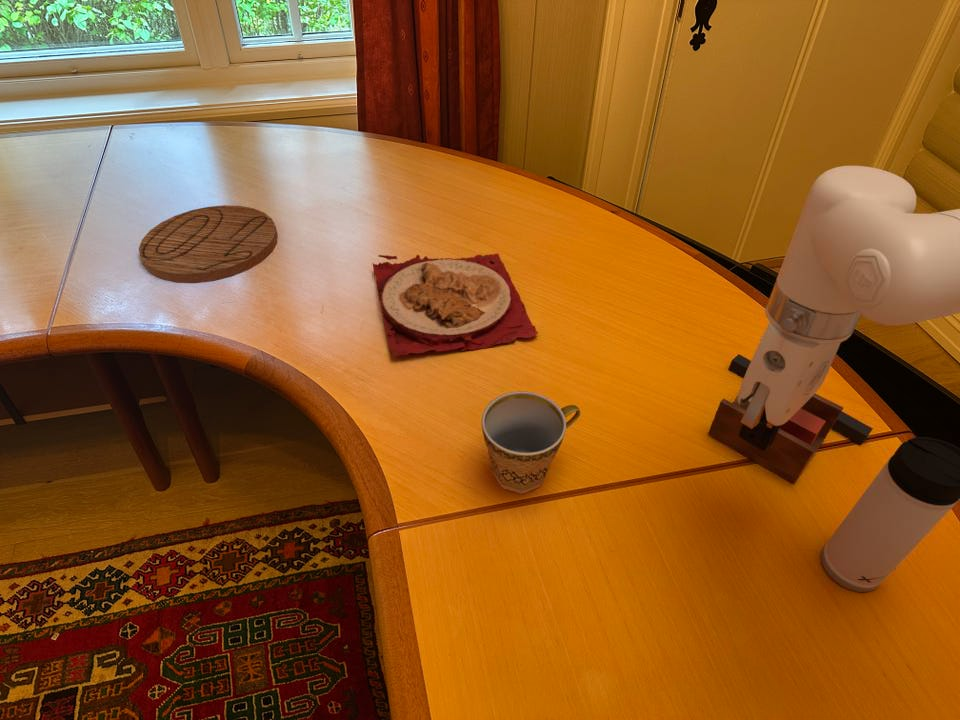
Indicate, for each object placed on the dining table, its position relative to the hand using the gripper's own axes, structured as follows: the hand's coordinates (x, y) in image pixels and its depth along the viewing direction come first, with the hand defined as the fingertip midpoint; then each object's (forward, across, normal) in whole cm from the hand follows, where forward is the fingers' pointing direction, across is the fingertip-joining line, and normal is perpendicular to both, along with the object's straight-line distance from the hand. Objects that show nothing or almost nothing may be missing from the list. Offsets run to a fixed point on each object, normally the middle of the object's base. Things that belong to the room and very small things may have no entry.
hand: (754, 440), depth 67 cm
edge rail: (+11, +22, +3) cm, 25 cm away
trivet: (+9, -23, +99) cm, 102 cm away
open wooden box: (+11, +13, +2) cm, 18 cm away
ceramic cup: (+11, -14, +20) cm, 27 cm away
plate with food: (+10, 0, +54) cm, 55 cm away
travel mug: (+12, +3, -14) cm, 19 cm away
